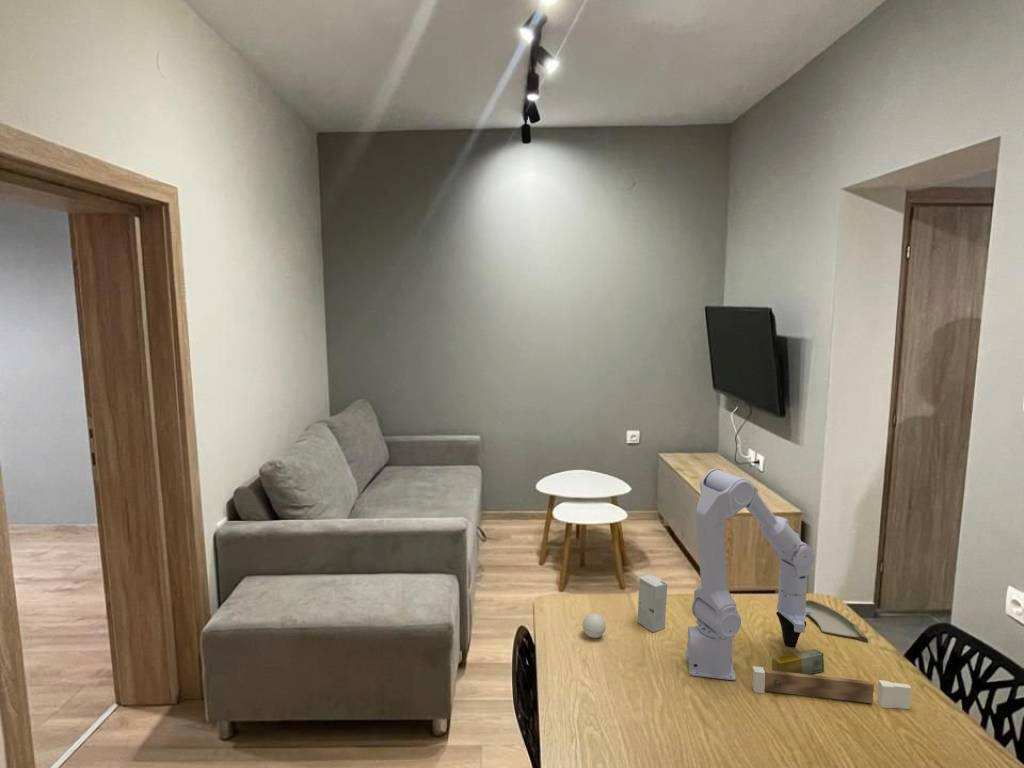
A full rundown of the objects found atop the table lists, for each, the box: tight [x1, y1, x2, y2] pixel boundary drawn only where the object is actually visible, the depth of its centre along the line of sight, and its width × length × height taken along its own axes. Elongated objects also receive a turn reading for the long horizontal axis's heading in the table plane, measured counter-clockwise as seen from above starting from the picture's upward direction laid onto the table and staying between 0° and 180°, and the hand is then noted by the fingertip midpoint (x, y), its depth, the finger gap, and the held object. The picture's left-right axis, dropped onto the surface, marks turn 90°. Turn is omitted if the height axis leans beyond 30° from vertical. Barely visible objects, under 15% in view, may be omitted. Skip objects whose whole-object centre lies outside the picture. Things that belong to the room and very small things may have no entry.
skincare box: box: [637, 573, 668, 633], centre depth 146 cm, size 6×4×12 cm
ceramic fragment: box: [806, 599, 869, 643], centre depth 145 cm, size 18×7×5 cm, turn 23°
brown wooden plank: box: [764, 669, 875, 704], centre depth 117 cm, size 20×2×4 cm, turn 78°
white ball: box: [575, 612, 607, 639], centre depth 141 cm, size 8×6×6 cm
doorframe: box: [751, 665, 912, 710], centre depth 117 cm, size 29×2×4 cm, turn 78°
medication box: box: [771, 648, 825, 675], centre depth 126 cm, size 12×3×4 cm, turn 108°
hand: (789, 645), depth 134 cm, fingers closed
